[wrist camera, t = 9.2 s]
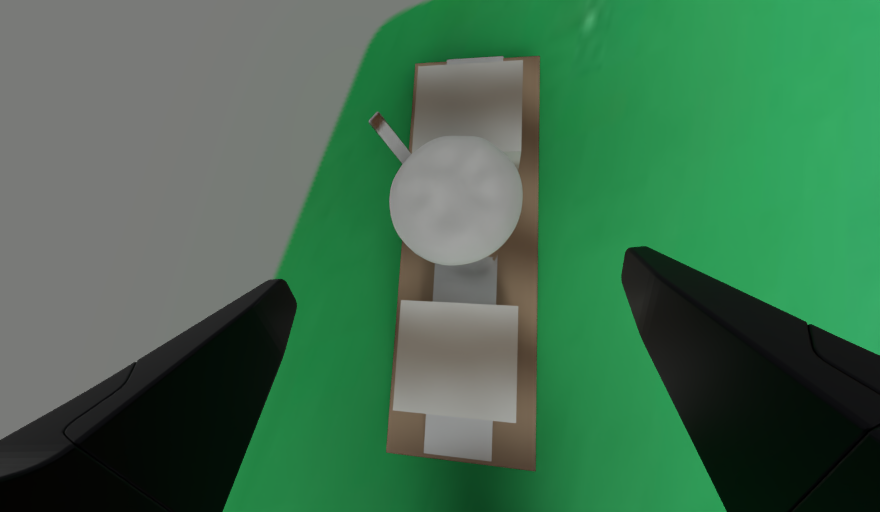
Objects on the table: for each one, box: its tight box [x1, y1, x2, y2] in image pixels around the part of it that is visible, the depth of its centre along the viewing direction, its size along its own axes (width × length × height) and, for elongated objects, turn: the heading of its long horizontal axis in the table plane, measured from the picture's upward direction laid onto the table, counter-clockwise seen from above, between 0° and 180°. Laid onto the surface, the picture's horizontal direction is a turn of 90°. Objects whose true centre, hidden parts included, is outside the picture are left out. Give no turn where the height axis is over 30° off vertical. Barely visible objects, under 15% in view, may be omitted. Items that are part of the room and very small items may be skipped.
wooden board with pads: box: [386, 56, 540, 471], centre depth 19 cm, size 24×8×5 cm, turn 177°
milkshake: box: [369, 112, 523, 274], centre depth 15 cm, size 4×5×10 cm
